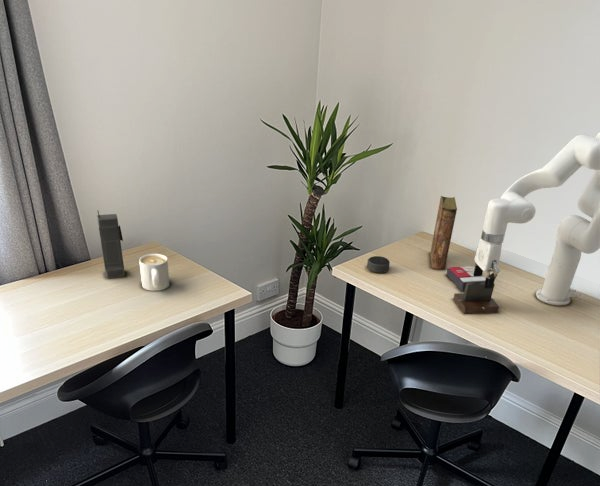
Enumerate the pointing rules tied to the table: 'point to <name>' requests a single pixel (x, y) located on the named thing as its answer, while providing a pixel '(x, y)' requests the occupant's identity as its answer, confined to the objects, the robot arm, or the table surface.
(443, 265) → the book
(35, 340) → the table surface
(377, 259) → the smart speaker
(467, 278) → the red and grey box
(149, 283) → the coffee mug
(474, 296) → the grey rectangular slab
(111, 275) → the portable radio
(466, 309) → the stand
